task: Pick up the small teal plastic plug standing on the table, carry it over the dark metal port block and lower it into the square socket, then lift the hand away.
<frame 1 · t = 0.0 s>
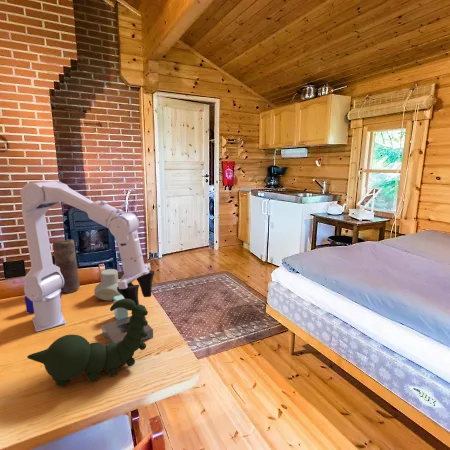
hand: (141, 302, 84), 11 cm above the table, tool pointing down, fingers open, 7 cm apart
candle: (69, 290, 117), on the table
port block: (127, 334, 87), on the table
plug: (121, 317, 97), on the table
air freshener: (110, 297, 111), on the table
cable clip: (43, 305, 104), on the table
toy figurine: (95, 374, 71), on the table
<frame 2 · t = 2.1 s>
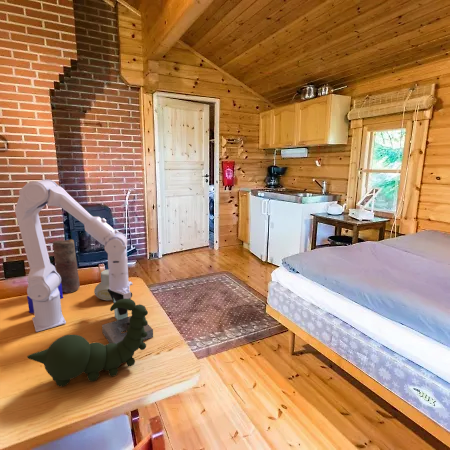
hand: (121, 311, 96), 2 cm above the table, tool pointing down, fingers closed on plug, 3 cm apart
plug: (121, 317, 97), on the table, touching gripper
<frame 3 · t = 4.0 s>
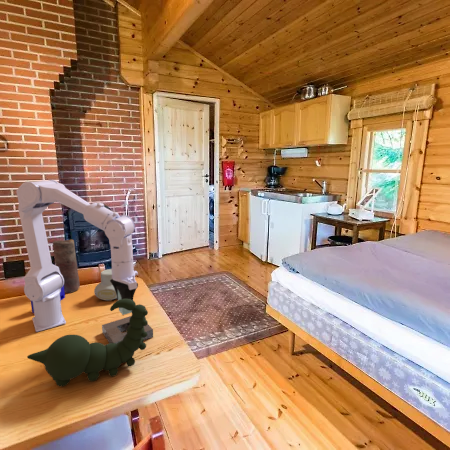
hand: (125, 304, 86), 9 cm above the table, tool pointing down, fingers closed on plug, 3 cm apart
plug: (126, 311, 87), point 7 cm above the table, touching gripper
when the fingers open (3 cm above the table, at t = 5.6 s): plug stays where it is, resting in port block.
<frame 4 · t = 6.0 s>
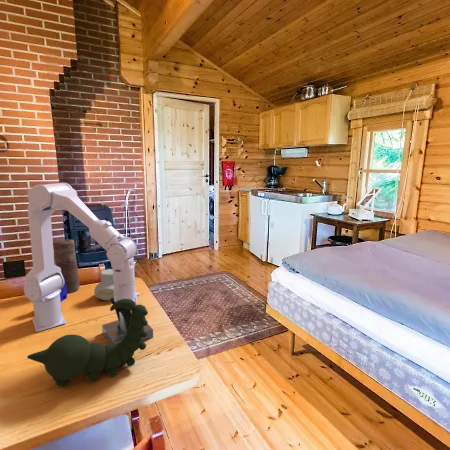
hand: (127, 325, 86), 3 cm above the table, tool pointing down, fingers open, 7 cm apart
plug: (128, 334, 87), resting in port block
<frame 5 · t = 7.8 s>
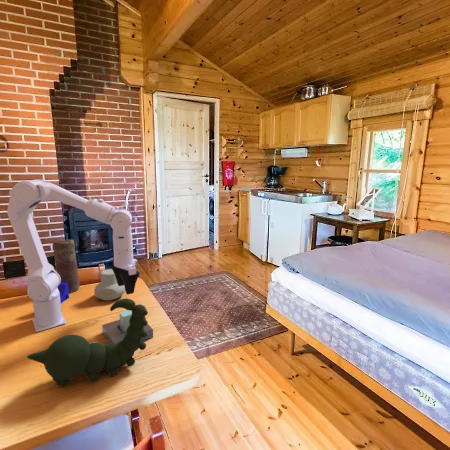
hand: (125, 289, 95), 9 cm above the table, tool pointing down, fingers open, 7 cm apart
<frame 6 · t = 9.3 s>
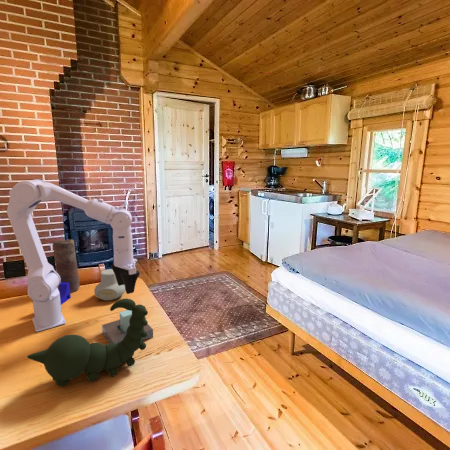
hand: (125, 288, 96), 9 cm above the table, tool pointing down, fingers open, 7 cm apart
at the end: plug 0.2 cm off-centre on the port block, point 0.0 cm above the port block's base; plug tilted 0°; the gripper is holding nothing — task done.
